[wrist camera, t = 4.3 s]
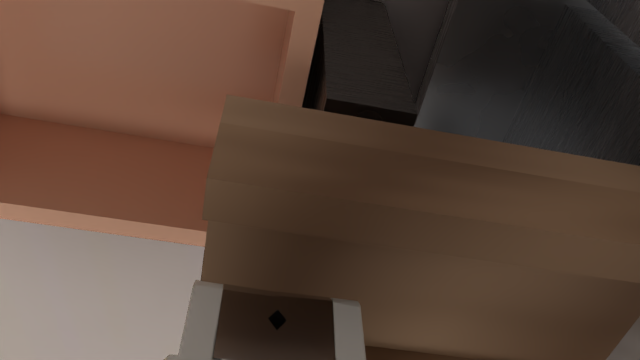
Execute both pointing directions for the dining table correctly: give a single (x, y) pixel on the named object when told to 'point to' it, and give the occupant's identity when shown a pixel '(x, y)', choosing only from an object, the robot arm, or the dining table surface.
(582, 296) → the brown wooden tray
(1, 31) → the pink open box
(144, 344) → the dining table surface
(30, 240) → the dining table surface
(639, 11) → the stand
